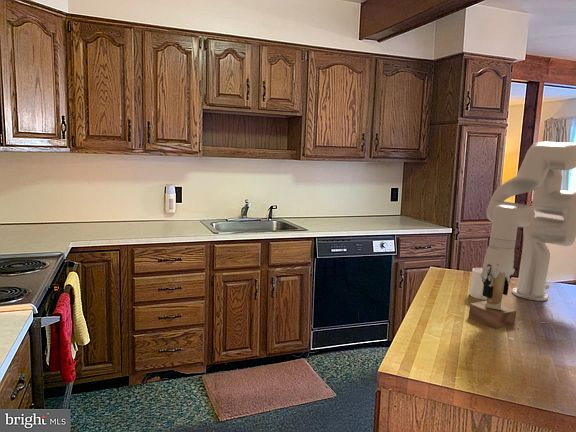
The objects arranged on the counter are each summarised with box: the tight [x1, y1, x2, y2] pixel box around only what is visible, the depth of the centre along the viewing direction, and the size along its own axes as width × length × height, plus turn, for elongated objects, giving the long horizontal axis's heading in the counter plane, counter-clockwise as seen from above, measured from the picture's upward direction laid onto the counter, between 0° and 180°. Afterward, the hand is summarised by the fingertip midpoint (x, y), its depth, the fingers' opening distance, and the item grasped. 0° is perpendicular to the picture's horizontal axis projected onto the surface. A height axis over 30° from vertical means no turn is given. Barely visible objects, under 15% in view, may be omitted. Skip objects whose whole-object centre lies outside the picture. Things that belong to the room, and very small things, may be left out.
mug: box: [469, 267, 490, 301], centre depth 168 cm, size 12×8×10 cm
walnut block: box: [468, 300, 517, 329], centre depth 147 cm, size 10×10×5 cm
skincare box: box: [486, 273, 506, 310], centre depth 145 cm, size 6×4×12 cm
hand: (494, 295), depth 146 cm, fingers closed on skincare box, 7 cm apart
